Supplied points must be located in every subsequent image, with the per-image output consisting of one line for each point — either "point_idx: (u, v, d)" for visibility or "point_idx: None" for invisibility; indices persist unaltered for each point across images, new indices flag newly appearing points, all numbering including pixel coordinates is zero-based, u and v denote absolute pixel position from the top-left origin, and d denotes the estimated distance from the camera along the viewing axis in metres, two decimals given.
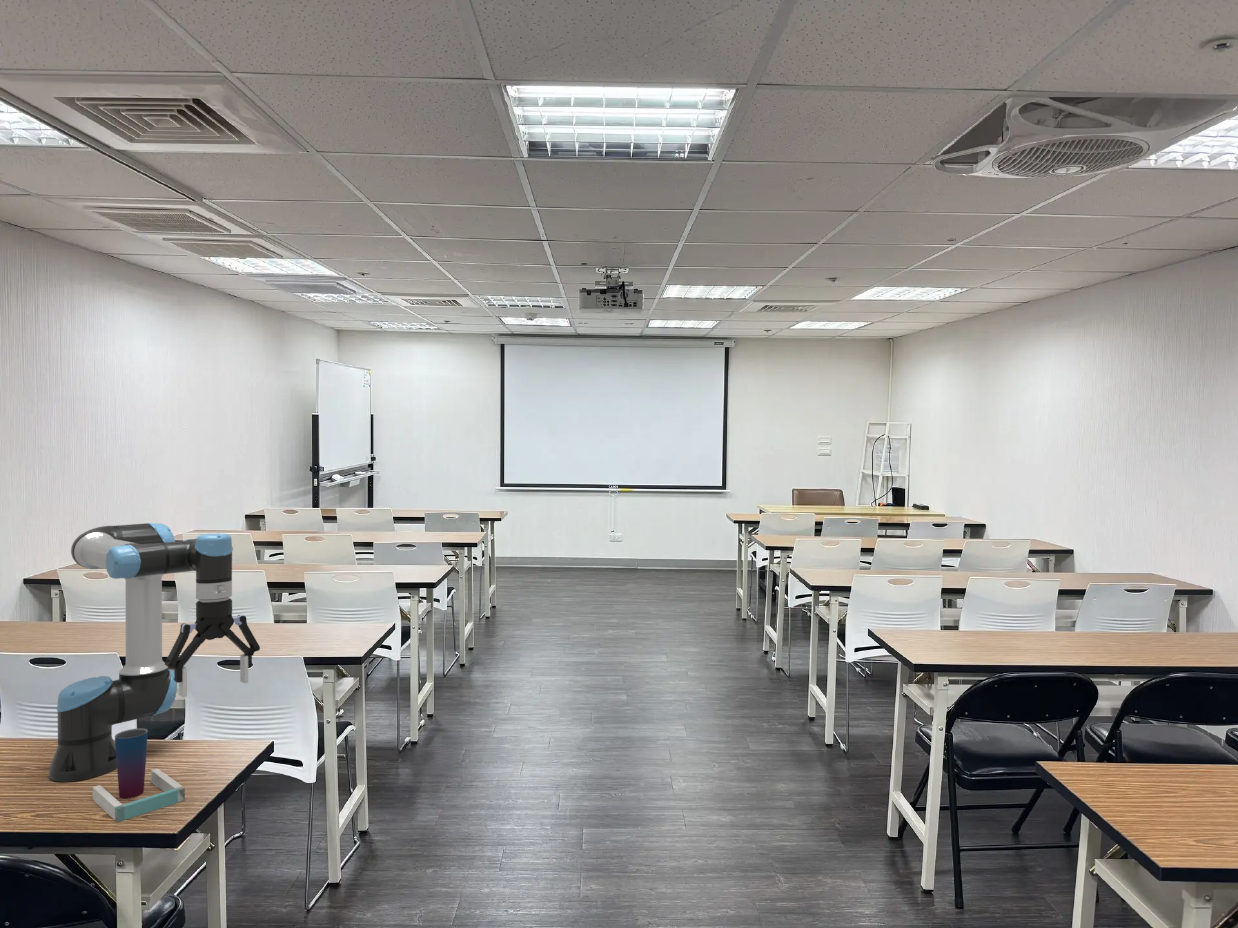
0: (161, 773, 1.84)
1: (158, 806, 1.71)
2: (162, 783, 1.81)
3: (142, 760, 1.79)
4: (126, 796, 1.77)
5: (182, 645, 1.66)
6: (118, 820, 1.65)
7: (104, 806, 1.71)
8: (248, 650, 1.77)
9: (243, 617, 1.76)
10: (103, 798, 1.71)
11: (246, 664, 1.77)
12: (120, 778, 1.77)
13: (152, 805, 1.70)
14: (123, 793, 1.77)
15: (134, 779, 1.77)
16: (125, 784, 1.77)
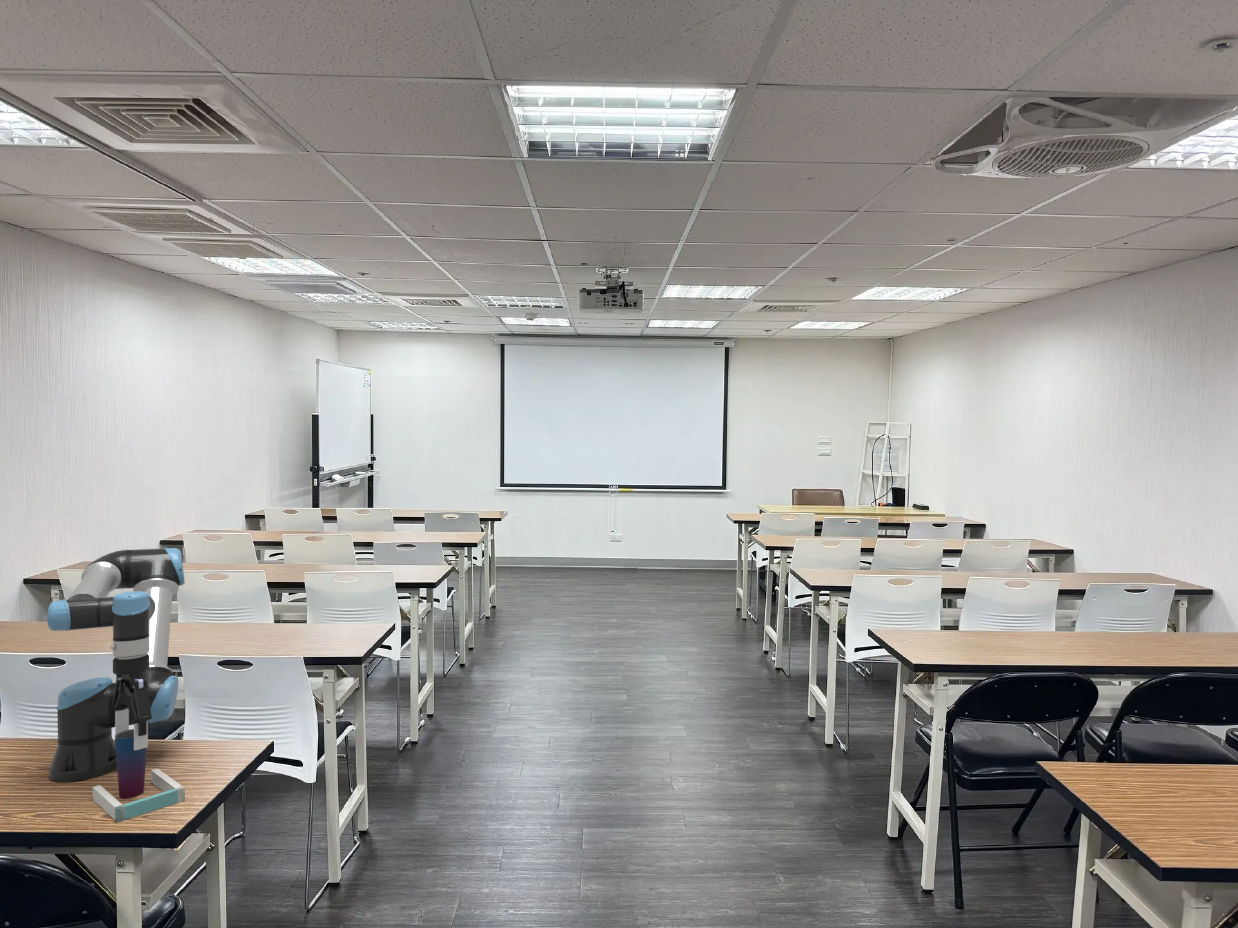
0: (161, 773, 1.84)
1: (158, 806, 1.71)
2: (162, 783, 1.81)
3: (142, 760, 1.79)
4: (126, 796, 1.77)
5: (115, 689, 1.83)
6: (118, 820, 1.65)
7: (104, 806, 1.71)
8: (135, 717, 1.74)
9: (134, 682, 1.74)
10: (103, 798, 1.71)
11: (134, 731, 1.74)
12: (120, 778, 1.77)
13: (152, 805, 1.70)
14: (123, 793, 1.77)
15: (134, 779, 1.77)
16: (125, 784, 1.77)
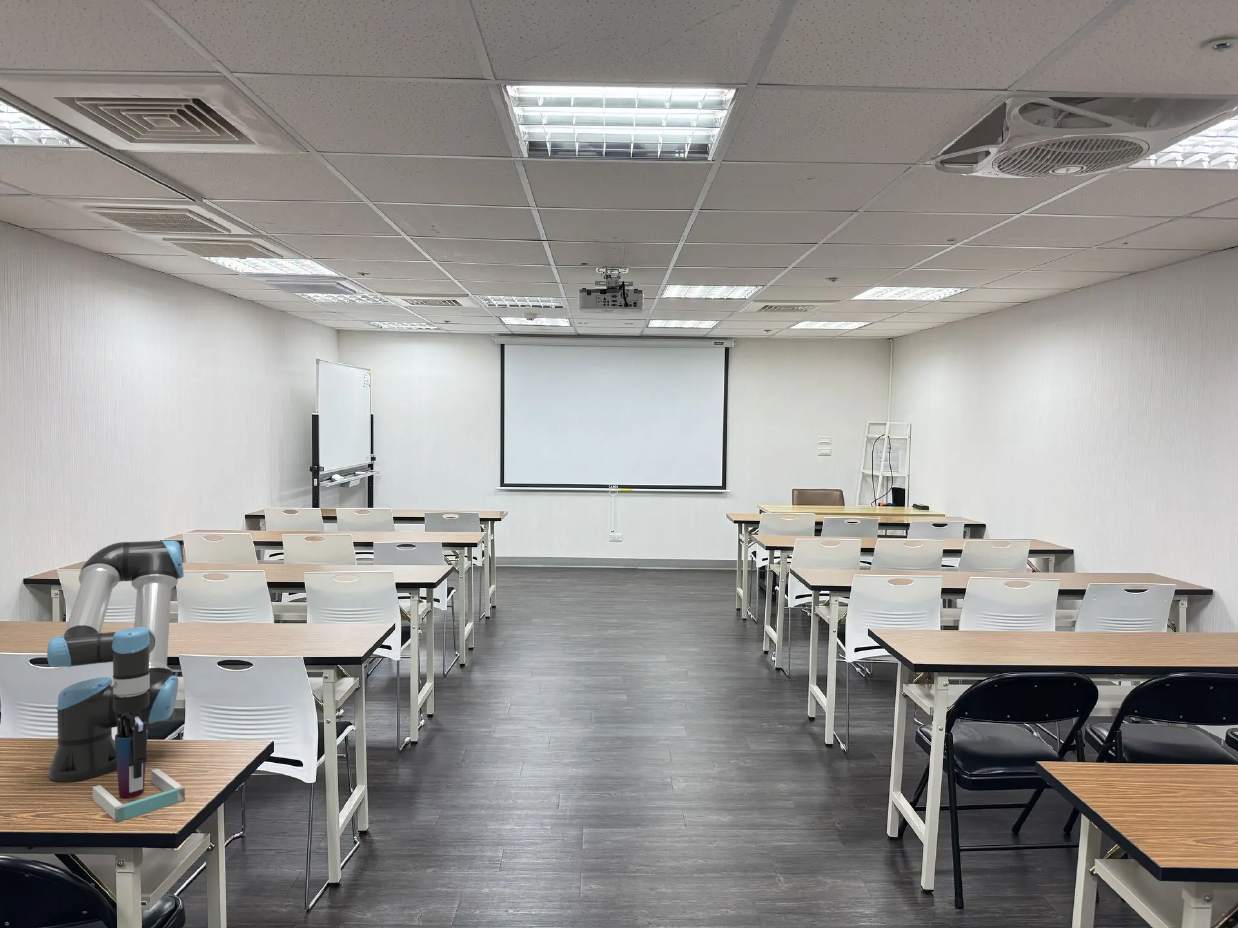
0: (161, 773, 1.84)
1: (158, 806, 1.71)
2: (162, 783, 1.81)
3: None
4: (126, 796, 1.77)
5: (118, 732, 1.82)
6: (118, 820, 1.65)
7: (104, 806, 1.71)
8: (131, 760, 1.76)
9: (134, 725, 1.74)
10: (103, 798, 1.71)
11: (129, 773, 1.76)
12: (120, 778, 1.77)
13: (152, 805, 1.70)
14: (123, 793, 1.77)
15: None
16: (125, 784, 1.77)
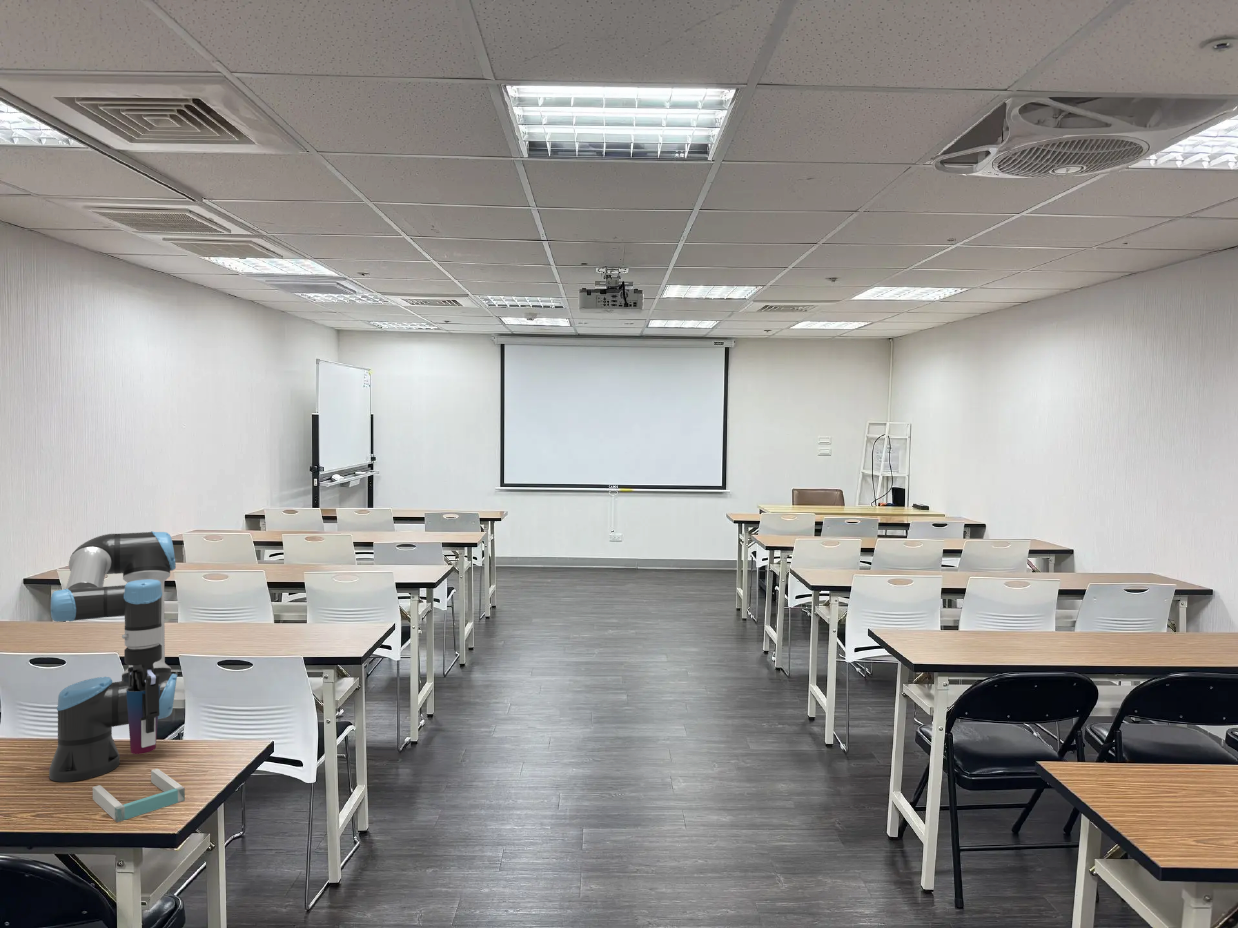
0: (161, 773, 1.84)
1: (158, 806, 1.71)
2: (162, 783, 1.81)
3: None
4: (138, 751, 1.71)
5: None
6: (118, 820, 1.65)
7: (104, 806, 1.71)
8: (143, 714, 1.70)
9: (146, 678, 1.69)
10: (103, 798, 1.71)
11: (141, 727, 1.71)
12: (132, 733, 1.71)
13: (152, 805, 1.70)
14: (135, 748, 1.71)
15: None
16: (137, 739, 1.71)
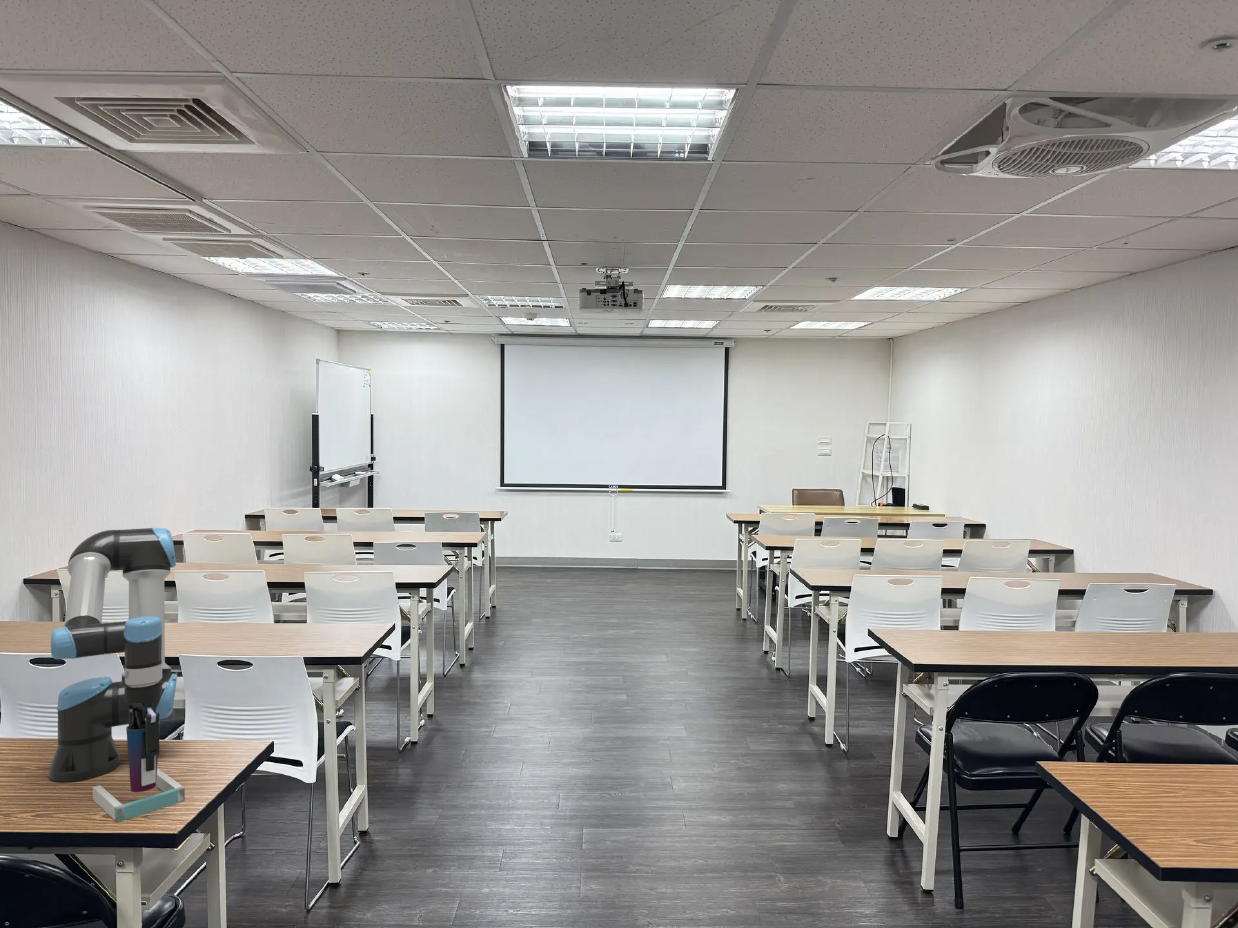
0: (161, 773, 1.84)
1: (158, 806, 1.71)
2: (162, 783, 1.81)
3: None
4: (138, 790, 1.71)
5: (129, 724, 1.76)
6: (118, 820, 1.65)
7: (104, 806, 1.71)
8: (144, 752, 1.70)
9: (146, 716, 1.69)
10: (103, 798, 1.71)
11: None
12: (132, 771, 1.71)
13: (152, 805, 1.70)
14: (135, 786, 1.71)
15: None
16: (137, 777, 1.71)
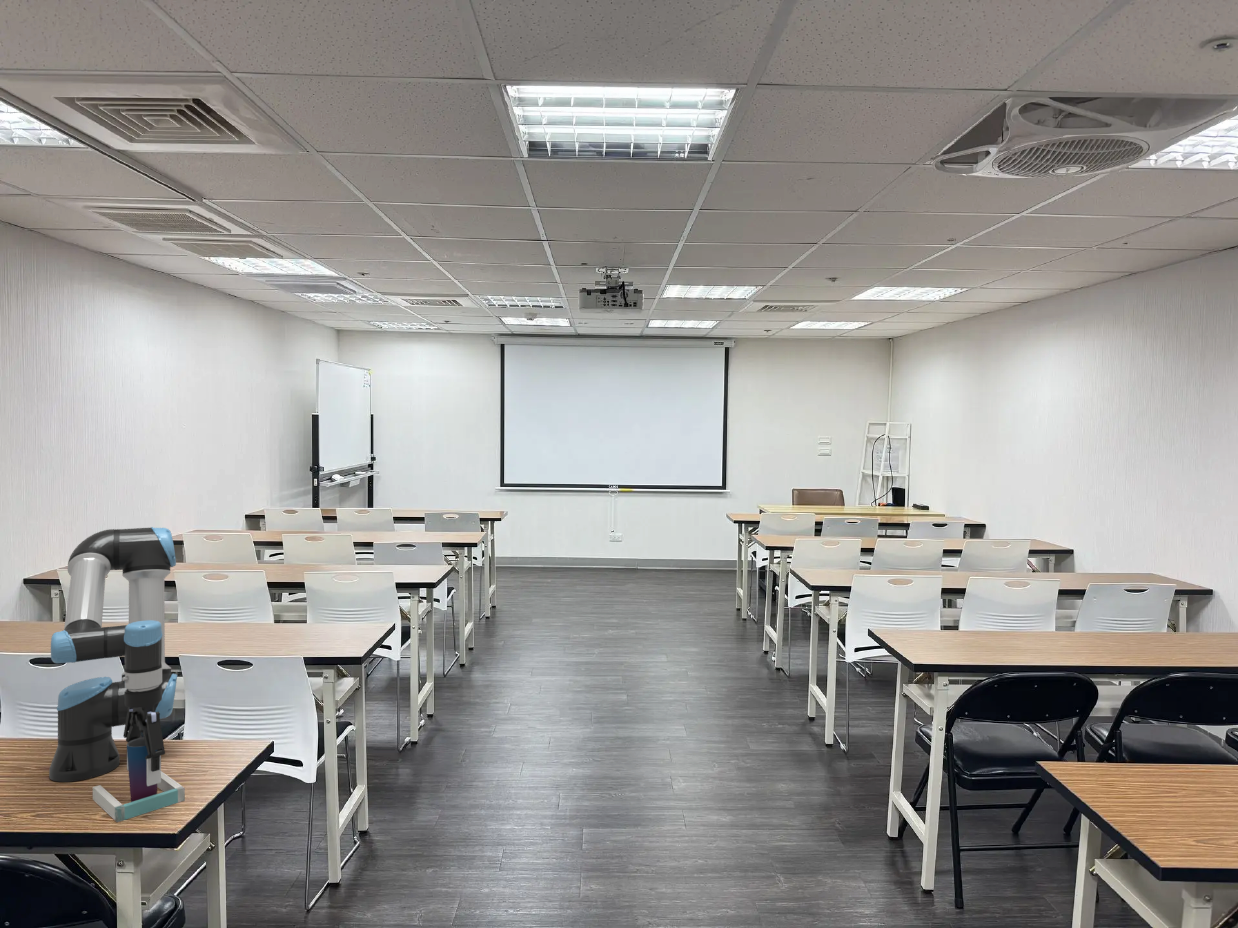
0: (161, 773, 1.84)
1: (158, 806, 1.71)
2: (162, 783, 1.81)
3: None
4: None
5: (127, 721, 1.78)
6: (118, 820, 1.65)
7: (104, 806, 1.71)
8: (148, 752, 1.68)
9: (146, 715, 1.69)
10: (103, 798, 1.71)
11: (147, 766, 1.69)
12: (132, 788, 1.71)
13: (152, 805, 1.70)
14: None
15: (146, 789, 1.72)
16: (137, 793, 1.71)
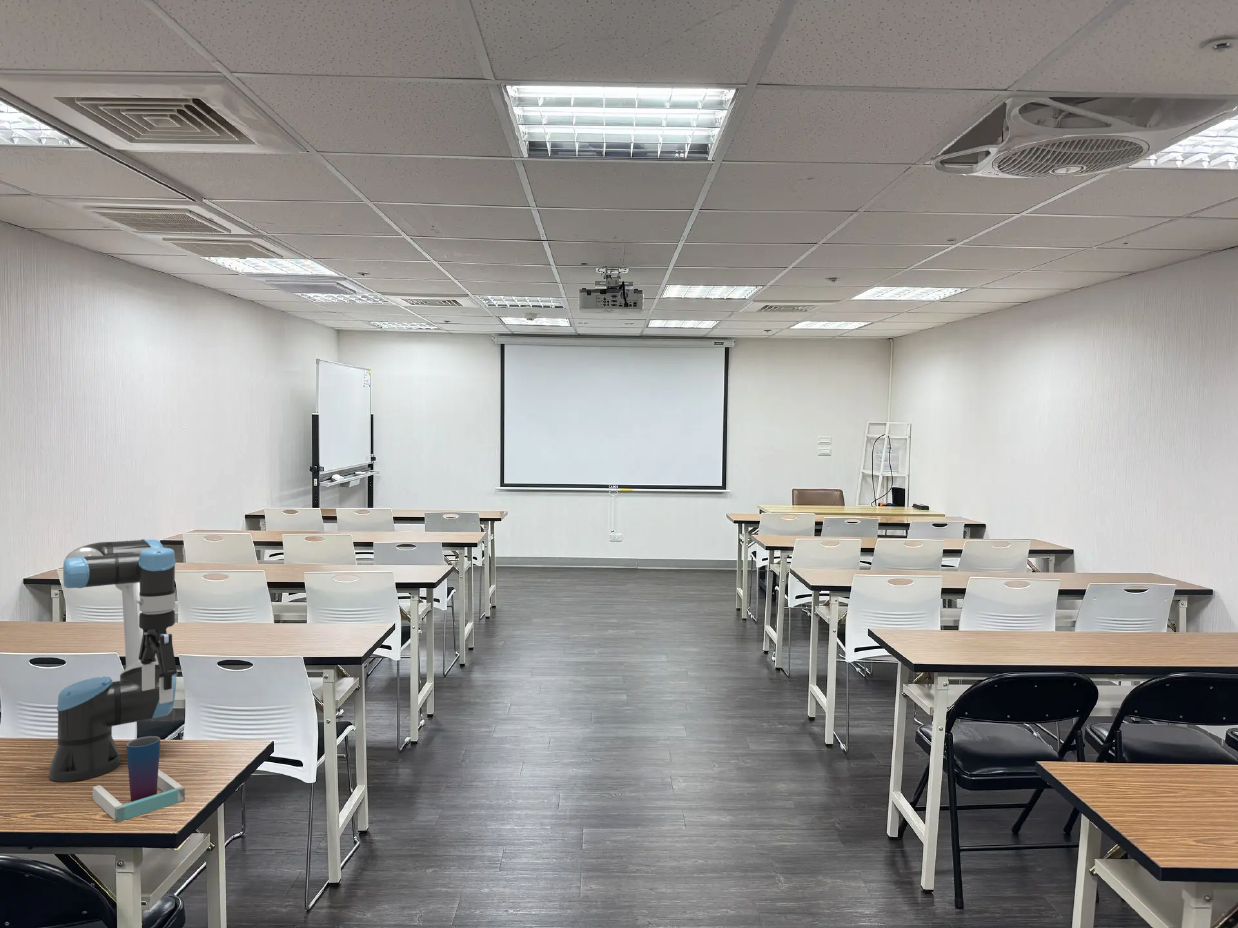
0: (161, 773, 1.84)
1: (158, 806, 1.71)
2: (162, 783, 1.81)
3: (154, 769, 1.74)
4: None
5: (142, 643, 1.85)
6: (118, 820, 1.65)
7: (104, 806, 1.71)
8: (161, 671, 1.76)
9: (159, 636, 1.76)
10: (103, 798, 1.71)
11: (159, 684, 1.76)
12: (132, 788, 1.71)
13: (152, 805, 1.70)
14: None
15: (146, 789, 1.72)
16: (137, 793, 1.71)
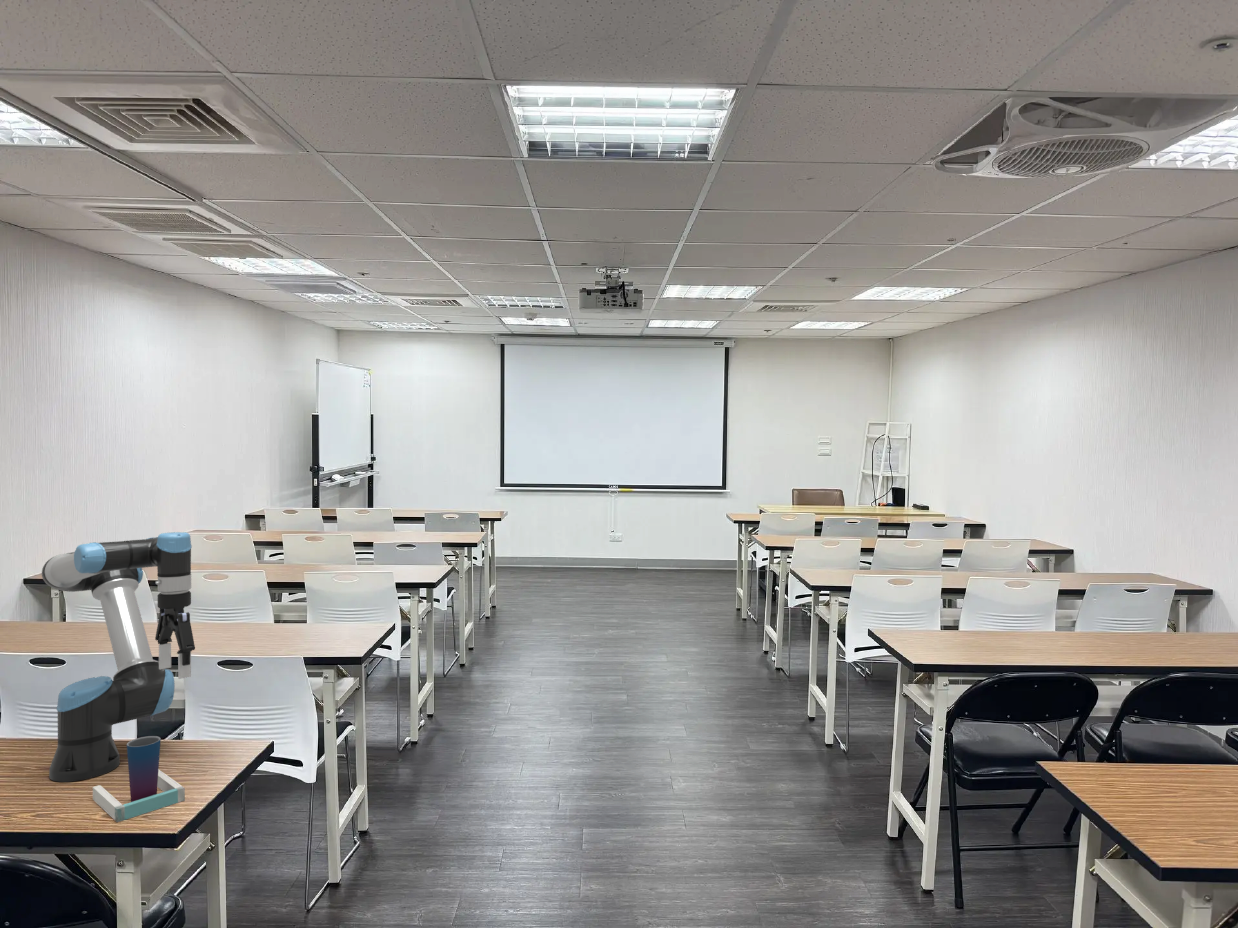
0: (161, 773, 1.84)
1: (158, 806, 1.71)
2: (162, 783, 1.81)
3: (155, 769, 1.74)
4: None
5: (159, 624, 1.94)
6: (118, 820, 1.65)
7: (104, 806, 1.71)
8: (180, 648, 1.85)
9: (178, 615, 1.86)
10: (103, 798, 1.71)
11: (178, 660, 1.85)
12: (132, 788, 1.71)
13: (152, 805, 1.70)
14: None
15: (146, 789, 1.72)
16: (137, 793, 1.71)
